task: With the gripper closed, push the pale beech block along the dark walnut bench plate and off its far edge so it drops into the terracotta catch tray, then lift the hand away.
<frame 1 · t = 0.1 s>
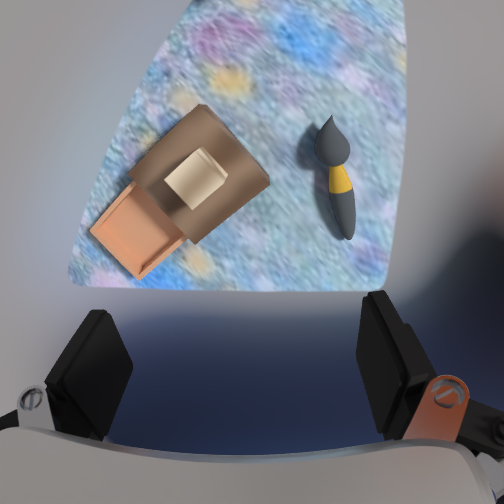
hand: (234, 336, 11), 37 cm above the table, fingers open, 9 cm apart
beech block: (197, 176, 37), point 8 cm above the table, touching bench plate
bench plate: (203, 169, 45), on the table
catch tray: (145, 223, 49), on the table
paintbrush: (338, 178, 45), on the table
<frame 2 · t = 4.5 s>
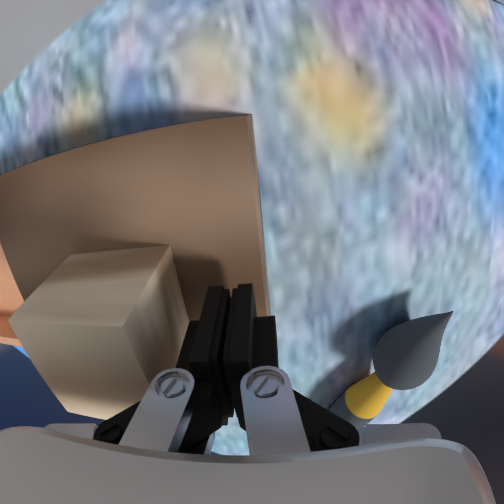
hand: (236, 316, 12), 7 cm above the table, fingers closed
beech block: (111, 334, 11), point 9 cm above the table, touching gripper
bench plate: (154, 244, 19), on the table
catch tray: (14, 258, 20), on the table
paintbrush: (367, 376, 24), on the table
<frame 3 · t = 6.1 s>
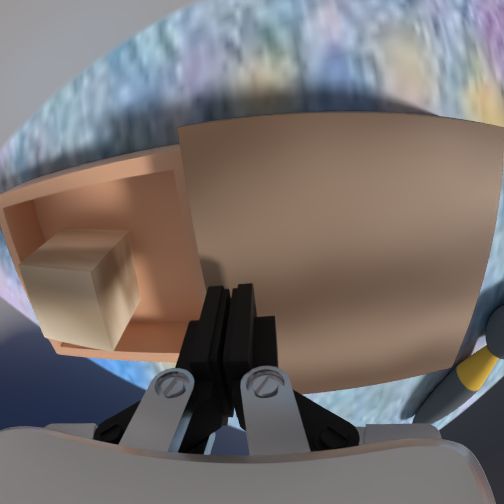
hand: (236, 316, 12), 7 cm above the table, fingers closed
beech block: (83, 285, 16), point 3 cm above the table, tilted 180°, touching catch tray
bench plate: (337, 231, 18), on the table
catch tray: (123, 249, 19), on the table
paintbrush: (468, 355, 23), on the table
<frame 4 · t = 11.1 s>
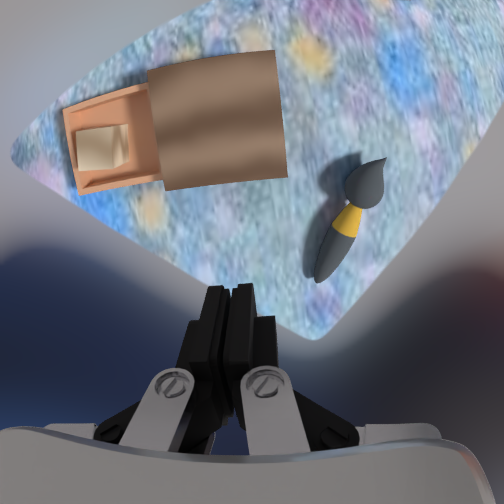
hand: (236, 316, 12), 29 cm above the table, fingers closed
beech block: (103, 146, 33), point 3 cm above the table, tilted 180°, touching catch tray
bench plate: (223, 118, 35), on the table
catch tray: (123, 137, 36), on the table
paintbrush: (346, 218, 41), on the table
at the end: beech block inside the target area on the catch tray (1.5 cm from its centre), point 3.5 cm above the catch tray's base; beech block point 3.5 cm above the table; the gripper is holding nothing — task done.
